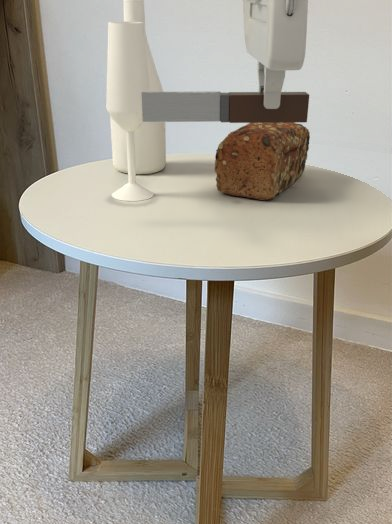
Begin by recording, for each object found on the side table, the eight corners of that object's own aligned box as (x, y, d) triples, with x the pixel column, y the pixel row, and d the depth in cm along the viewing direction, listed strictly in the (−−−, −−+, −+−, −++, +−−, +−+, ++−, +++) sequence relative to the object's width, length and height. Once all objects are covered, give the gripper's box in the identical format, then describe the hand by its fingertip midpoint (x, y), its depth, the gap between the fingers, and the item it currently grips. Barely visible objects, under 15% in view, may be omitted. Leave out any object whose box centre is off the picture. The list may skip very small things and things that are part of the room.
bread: (273, 204, 92) (278, 136, 87) (210, 194, 96) (211, 128, 91) (308, 175, 106) (315, 115, 101) (252, 167, 110) (255, 109, 105)
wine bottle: (165, 161, 113) (162, -26, 97) (166, 175, 105) (163, -27, 89) (114, 162, 112) (103, -27, 97) (111, 175, 104) (99, -29, 88)
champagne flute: (121, 186, 98) (112, 20, 86) (159, 190, 97) (156, 21, 84) (104, 198, 93) (92, 22, 80) (145, 202, 91) (139, 24, 79)
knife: (303, 119, 71) (306, 89, 69) (307, 122, 69) (309, 92, 68) (143, 119, 71) (141, 90, 69) (142, 123, 69) (141, 93, 67)
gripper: (330, -42, 53) (314, 122, 60) (290, -34, 71) (281, 92, 78) (259, -42, 53) (252, 122, 60) (236, -35, 71) (233, 92, 78)
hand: (268, 105), depth 69 cm, fingers closed on knife, 2 cm apart
